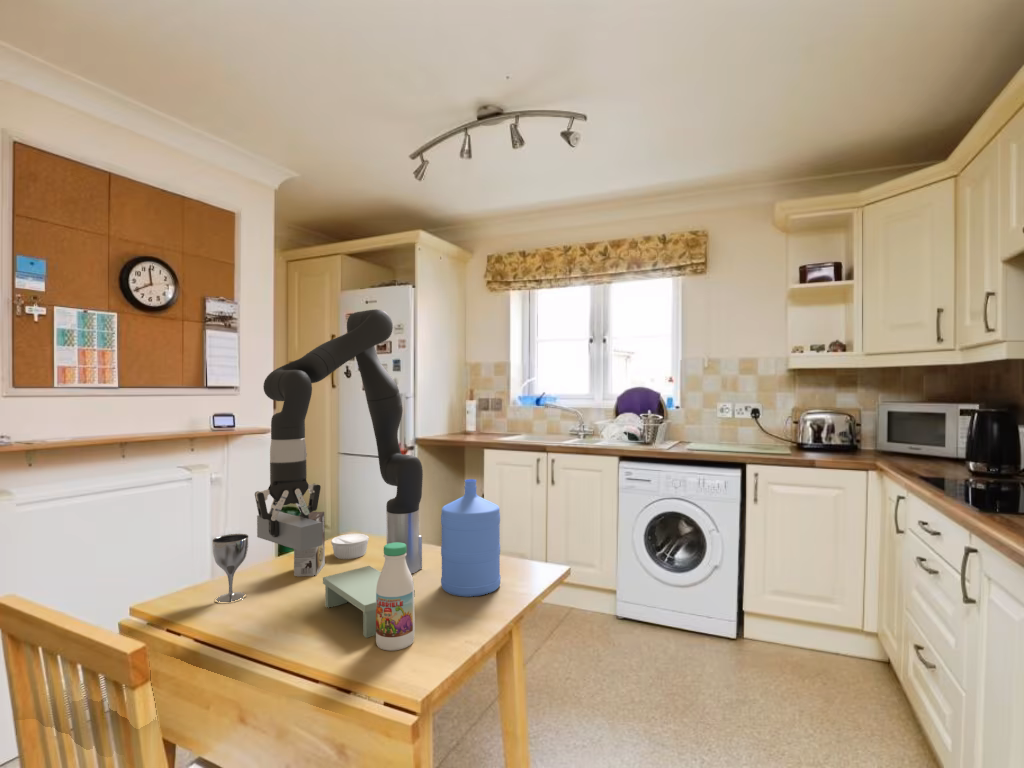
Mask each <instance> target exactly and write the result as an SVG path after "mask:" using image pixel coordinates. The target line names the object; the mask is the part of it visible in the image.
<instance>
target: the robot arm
mask: <svg viewBox="0 0 1024 768" xmlns="http://www.w3.org/2000/svg"><path fill="white" fill-rule="evenodd" d="M393 326H394V325H393V321H392V318H391V316H390V315H389V314H388V312H386V311H384V310H382V309H368V310H362V311H355V312H352V313H351V314H350V315H348V317H347V320H346V331H347V333H344V334H342V335H340V336H337V337H335V338H333V339H330V340H327V341H326V342H324V343H322V344H319V345H318V346H317V347H315V348H313V349H311V350H310V351H309V352H307V353H306V354H305V355H303V356H302V357H300V358H298V359H296V360H293V361H290V362H288V363H286V364H284V365H282V366H279V367H277V368H276V369H274V370H273V371H271V372H270V373H268V375H267V376H266V378H265V379H264V382H263V392H264V394H265V395H266V396H267V398H269V399H271V400H272V401H275V402H283V404H282V407H281V411H279V412H276V413H275V414H273V415H272V417H271V420H270V421H271V422H270V448H269V482H270V483H269V486H268V488H267V489H265V490H262V491H259V490H257V491H255V492H254V498H255V502H256V507H257V513H258V515H259V517H261V518H262V519H267V520H268V521H269V534H270V535H272V537H274V538H275V537H278V520H276V519H277V517H278V514H279V512H282V509H283V506H288V505H290V504H292V505H296V506H297V507H298V510H299V512H300V514H299V515H300V517H303V518H307V519H309V513H311V512H317V510H318V506H319V499H320V494H321V489H322V488H321V485H320V484H319V483H318V484H317V483H313V484H311V483H308V481H307V472H308V471H307V457H308V453H307V444H306V422H305V421H306V417H307V414H308V410H309V406H310V402H311V398H312V394H313V385H312V384H316V383H319V382H320V381H323V380H324V379H325V378H327V377H329V375H331V374H332V373H334V372H335V371H336V370H337V369H339V368H340V367H342V366H343V365H344V364H346V363H347V362H348V361H351V360H352V359H353V358H355V360H356V363H357V366H358V370H359V374H360V377H361V381H362V384H363V388H364V389H363V390H364V393H365V398H366V399H365V400H366V403H367V408H368V411H369V412H368V413H369V415H370V419H371V423H372V428H373V433H374V438H375V442H376V449H377V455H378V456H377V457H378V463H379V471H380V475H381V478H382V480H383V481H384V482H385V483H386V484H387V485H389V486H393V487H396V496H395V497H394V498H390V499H388V501H387V502H386V515H385V516H386V519H385V520H386V544H389V543H395V542H400V543H405V544H406V547H407V551H406V554H407V555H406V556H405V559H406V563H407V566H408V569H409V571H410V573H411V575H412V574H414V573H416V572H418V571H419V570H422V569H423V536H422V535H421V534H420V503H421V501H422V496H423V477H424V474H423V473H424V472H423V465H422V462H421V460H420V459H419V457H417V456H415V455H410V454H402V451H401V448H400V444H399V439H398V437H399V436H398V434H399V429H400V424H401V421H402V418H403V417H402V416H403V409H404V408H403V403H402V402H403V401H402V399H401V394H400V389H399V386H398V384H397V382H396V381H395V380H394V379H393V377H392V376H391V374H390V373H389V372H388V371H387V370H386V368H385V367H384V366H383V365H382V364H383V363H381V361H380V359H379V357H378V354H377V350H376V346H377V345H379V344H382V343H383V342H386V341H388V340H389V338H390V337H391V335H392V333H393V330H394V329H393V328H394V327H393ZM307 491H308V493H309V499H308V505H307V503H306V500H305V498H304V495H305V494H306V492H307ZM269 496H270V497H271V498H272V499H273V500H272V502H271V505H270V509H269V511H268V508H267V507H268V506H267V504H266V501H267V500H268V498H269Z"/></svg>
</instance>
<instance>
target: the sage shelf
mask: <svg viewBox="0 0 1024 768" xmlns="http://www.w3.org/2000/svg"><path fill="white" fill-rule="evenodd" d="M380 574H381V571H380V570H378V569H376V568H374V567H372V566H370V565H366V566H362V567H359V568H355V569H351V570H347V571H343V572H339V573H335V574H331V575H327V576H323V577H322V584H323V586H325V589H324V590H325V592H324V593H325V594H324V595H325V601H324V602H325V603H324V604H325V608H327V607H328V608H327V609H330V608H329V607H331V608H333V606H334V607H337V606H340V605H344V604H347V602H348V603H349V604H351V605H353V606H355V607H356V608H357V609H359V610H361V611H362V612H363V613H362V620H363V621H362V623H363V625H362V630H363V631H362V636H364V638H365V639H368V638H370V637H373V636H376V588H377V582H378V579H379V576H380ZM415 592H416V591H415V589H414V598H415V597H416V593H415Z"/></svg>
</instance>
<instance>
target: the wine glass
mask: <svg viewBox="0 0 1024 768" xmlns="http://www.w3.org/2000/svg"><path fill="white" fill-rule="evenodd" d="M211 542H212V545H211V546H212V554H213V555H212V556H213V558H214V562H215V564H216V565H217V566H218V567H219V568H221V569H222V571H224V573H225V574H226V576H227V579H228V580H227V581H228V582H227V583H228V593H225V594H221V595H219V596H220V597H219V596H218V598H217V597H216V598H217V599H216V598H215V599H216V600H217V601H218V602H219V601H220V602H231V601H235V600H238V599H241V598H243V596H244V595H245V594H246V593H245V592H242V593H241V591H237V592H236V591H235V592H234V593H233V591H234V590H233V581H234V575H235V574H236V572H237V570H238V568H239V567H240V566H241V565H242V564H243V563H244V561H245V560H246V558H247V554H248V550H249V535H248V534H246V533H230V534H224V535H220V536H219V535H218V536H216V537H213V539H212V541H211ZM244 593H245V594H244Z"/></svg>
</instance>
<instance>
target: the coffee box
mask: <svg viewBox="0 0 1024 768" xmlns="http://www.w3.org/2000/svg"><path fill="white" fill-rule="evenodd" d="M298 516H299V517H300V514H299V515H298ZM309 519H311V520H315V521H319V522H322V545H321V546H318V547H314V548H311V549H307V550H304V551H299V550H296V549H293V577H294V576H297V577H315V576H317V575H318V574H319V573H320V572H321V570H322V569H323V568H324V566H325V565H326V563H325V562H326V559H325V558H326V555H325V553H326V552H325V551H326V547H325V545H326V544H325V542H326V541H325V539H326V538H325V536H326V534H325V531H326V529H325V511H312V512H311V513H309ZM314 575H315V576H314Z"/></svg>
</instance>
